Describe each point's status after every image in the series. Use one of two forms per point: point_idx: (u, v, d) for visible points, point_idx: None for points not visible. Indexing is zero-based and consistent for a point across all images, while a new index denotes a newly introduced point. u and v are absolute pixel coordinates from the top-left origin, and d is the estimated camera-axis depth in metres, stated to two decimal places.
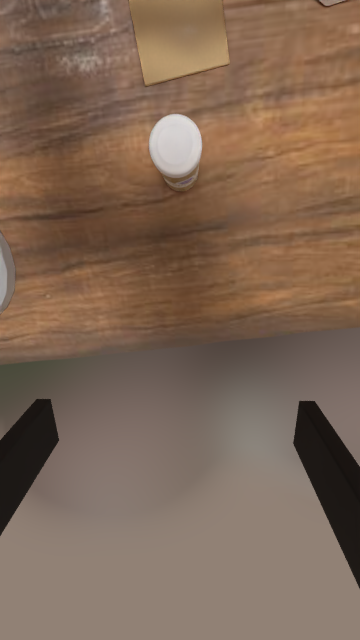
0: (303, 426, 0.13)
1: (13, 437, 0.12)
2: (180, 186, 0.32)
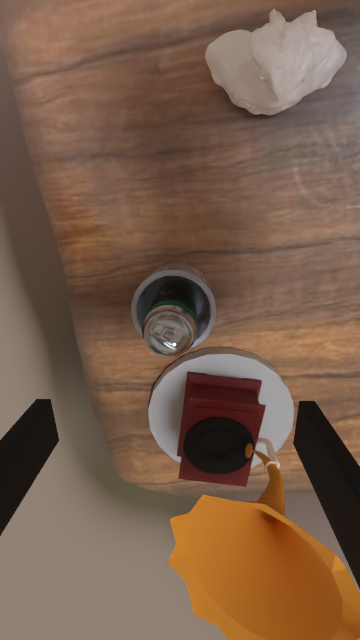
0: (303, 426, 0.13)
1: (13, 437, 0.12)
2: None
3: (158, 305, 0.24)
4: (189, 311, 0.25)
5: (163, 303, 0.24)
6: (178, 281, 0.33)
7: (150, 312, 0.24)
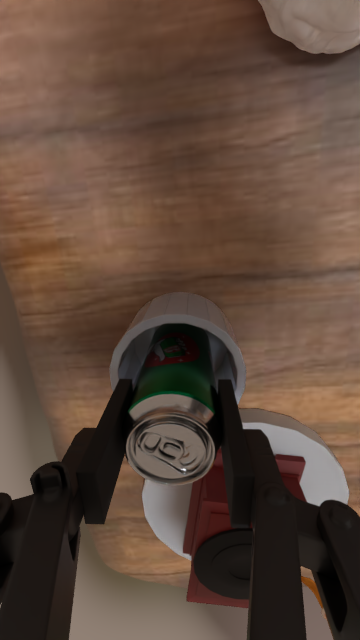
0: (219, 400, 0.16)
1: (114, 408, 0.14)
2: None
3: (151, 393, 0.13)
4: (208, 402, 0.13)
5: (160, 388, 0.13)
6: None
7: (136, 406, 0.13)
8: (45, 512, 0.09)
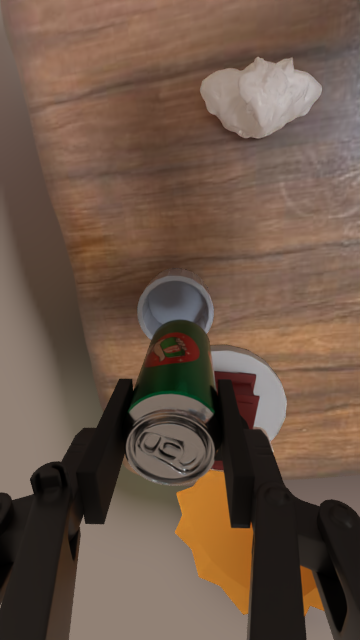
0: (218, 400, 0.16)
1: (115, 408, 0.14)
2: None
3: (151, 393, 0.13)
4: (208, 402, 0.13)
5: (160, 388, 0.13)
6: (183, 321, 0.22)
7: (136, 406, 0.13)
8: (45, 512, 0.09)
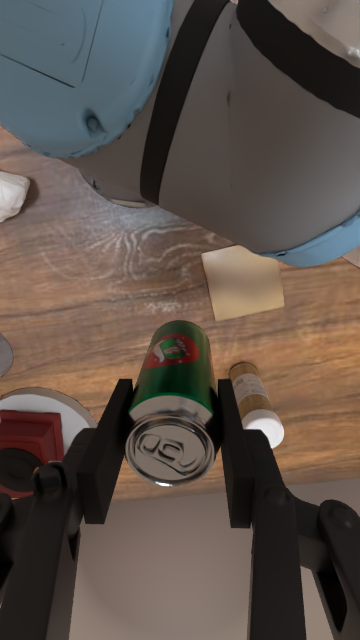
0: (219, 400, 0.16)
1: (115, 408, 0.14)
2: None
3: (150, 394, 0.13)
4: (207, 403, 0.13)
5: (160, 390, 0.13)
6: (183, 322, 0.22)
7: (136, 408, 0.13)
8: (45, 512, 0.09)
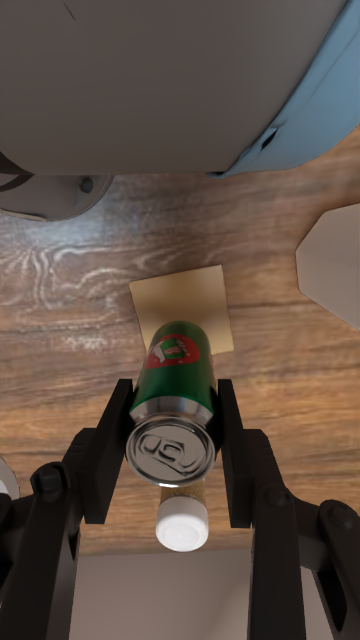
0: (219, 400, 0.16)
1: (114, 408, 0.14)
2: None
3: (151, 395, 0.13)
4: (208, 404, 0.13)
5: (160, 390, 0.13)
6: (183, 322, 0.22)
7: (136, 408, 0.13)
8: (45, 512, 0.09)
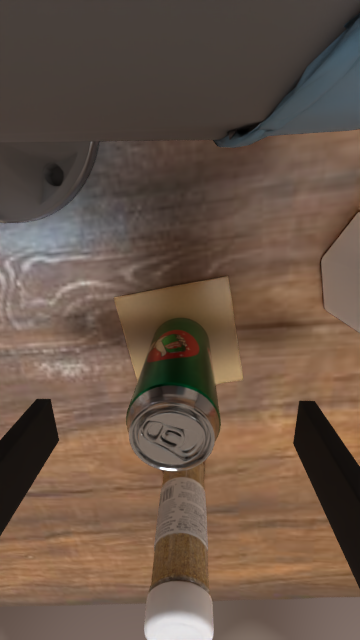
0: (303, 426, 0.13)
1: (13, 437, 0.12)
2: None
3: (154, 384, 0.14)
4: (207, 393, 0.14)
5: (162, 381, 0.14)
6: (184, 319, 0.23)
7: (140, 397, 0.14)
8: None
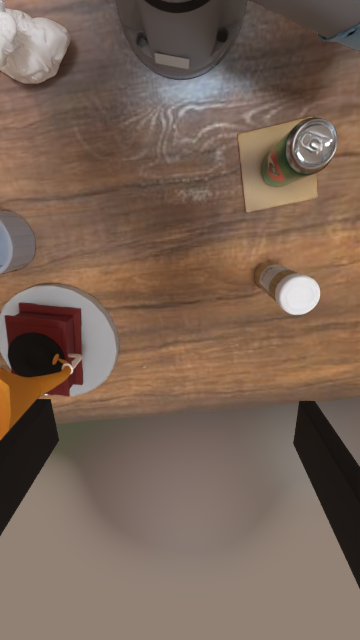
0: (303, 426, 0.13)
1: (13, 437, 0.12)
2: None
3: (303, 120, 0.27)
4: None
5: (307, 119, 0.27)
6: None
7: (296, 126, 0.27)
8: None
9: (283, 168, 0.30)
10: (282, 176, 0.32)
